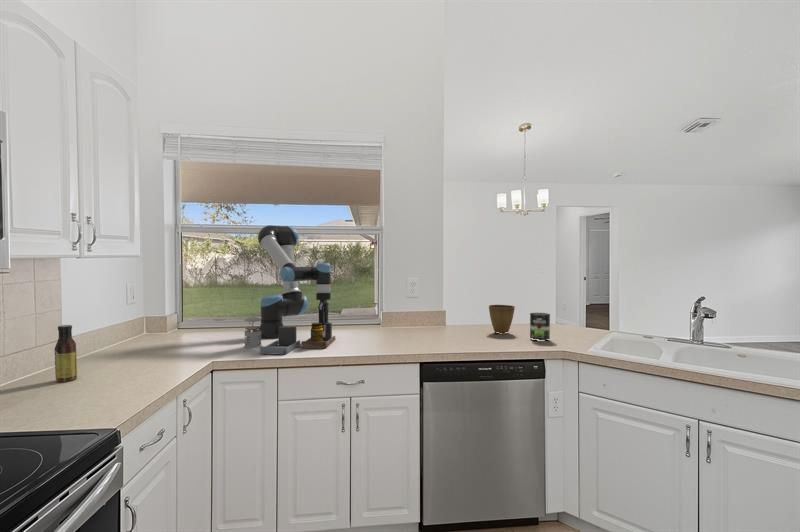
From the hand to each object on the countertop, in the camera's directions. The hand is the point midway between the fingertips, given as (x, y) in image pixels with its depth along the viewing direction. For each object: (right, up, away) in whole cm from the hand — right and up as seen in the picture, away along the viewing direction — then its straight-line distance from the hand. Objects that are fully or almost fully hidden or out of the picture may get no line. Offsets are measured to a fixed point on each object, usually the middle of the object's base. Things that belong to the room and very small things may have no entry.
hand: (323, 336), depth 230 cm
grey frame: (-16, -3, -22) cm, 28 cm away
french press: (-33, -3, -15) cm, 36 cm away
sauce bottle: (-79, -4, -74) cm, 109 cm away
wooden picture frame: (-1, -2, -9) cm, 10 cm away
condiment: (-1, -3, -16) cm, 17 cm away
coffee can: (+116, -3, +3) cm, 116 cm away
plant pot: (+100, -2, +24) cm, 103 cm away
